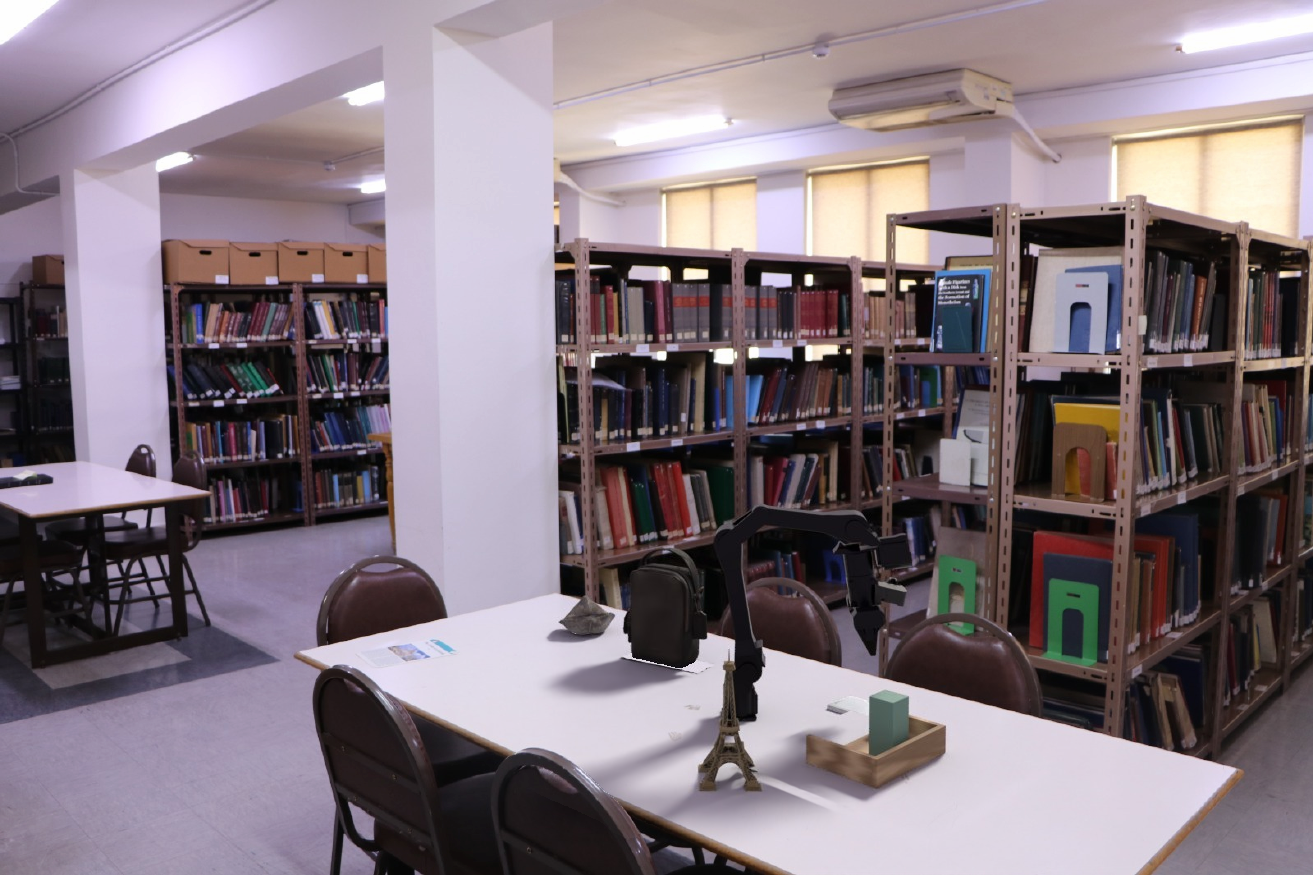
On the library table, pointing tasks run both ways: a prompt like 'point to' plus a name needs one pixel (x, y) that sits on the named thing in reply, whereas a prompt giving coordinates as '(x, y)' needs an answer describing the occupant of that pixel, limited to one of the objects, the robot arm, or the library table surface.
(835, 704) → the white flat slab
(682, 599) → the shoulder bag
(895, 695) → the green block
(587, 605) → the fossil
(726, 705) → the eiffel tower
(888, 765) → the oak crate
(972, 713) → the library table surface
